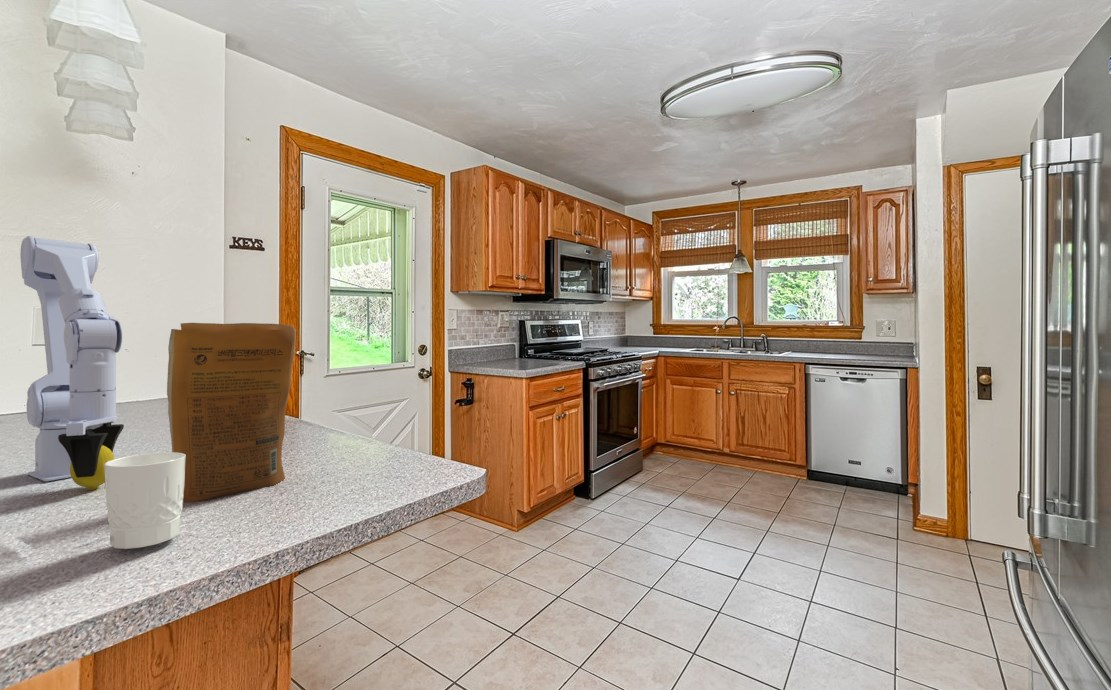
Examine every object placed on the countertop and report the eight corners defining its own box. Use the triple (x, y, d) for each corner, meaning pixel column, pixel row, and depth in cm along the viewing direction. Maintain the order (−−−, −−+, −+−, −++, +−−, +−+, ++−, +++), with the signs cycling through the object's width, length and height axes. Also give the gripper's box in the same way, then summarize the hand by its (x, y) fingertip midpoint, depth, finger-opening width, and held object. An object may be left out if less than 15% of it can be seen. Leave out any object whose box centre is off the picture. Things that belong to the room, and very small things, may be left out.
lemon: (87, 496, 80) (87, 446, 80) (60, 494, 81) (61, 444, 81) (123, 486, 86) (123, 440, 86) (98, 485, 87) (98, 438, 87)
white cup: (136, 528, 66) (136, 452, 66) (199, 526, 67) (199, 451, 67) (85, 552, 58) (85, 467, 58) (157, 550, 59) (157, 465, 59)
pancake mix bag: (304, 483, 88) (304, 324, 88) (169, 511, 73) (170, 319, 73) (287, 477, 92) (288, 325, 92) (158, 501, 77) (158, 321, 77)
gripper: (79, 388, 88) (79, 465, 88) (39, 395, 75) (39, 486, 75) (130, 386, 91) (130, 461, 91) (100, 393, 78) (100, 480, 78)
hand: (93, 472), depth 83 cm, fingers closed on lemon, 6 cm apart
